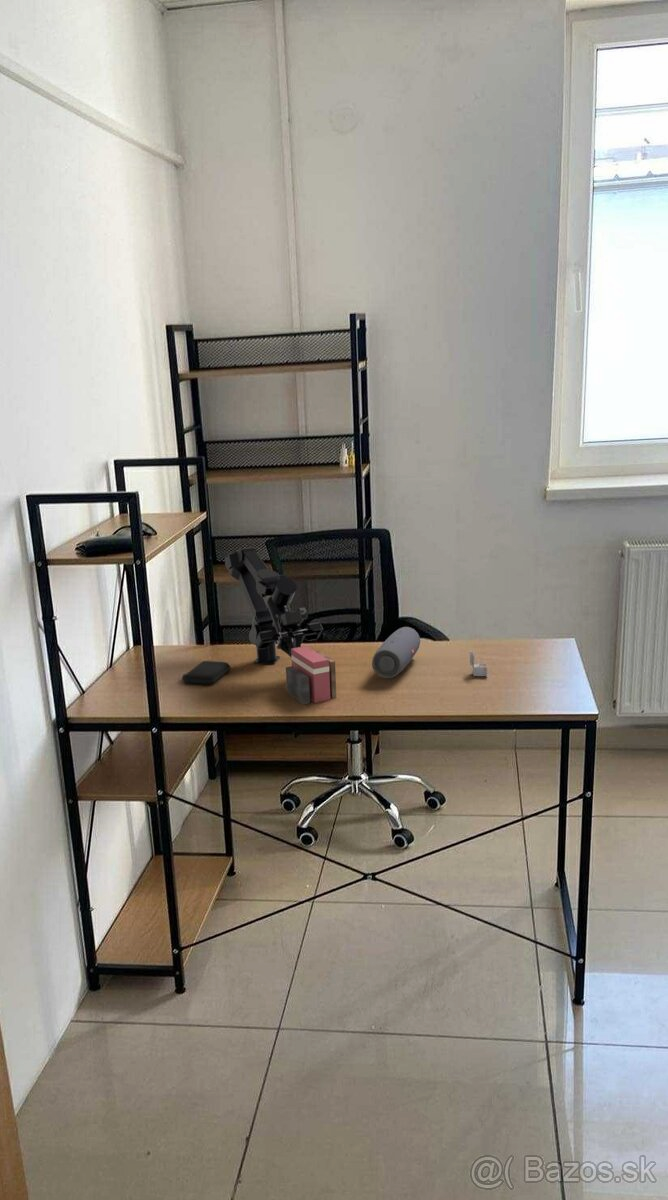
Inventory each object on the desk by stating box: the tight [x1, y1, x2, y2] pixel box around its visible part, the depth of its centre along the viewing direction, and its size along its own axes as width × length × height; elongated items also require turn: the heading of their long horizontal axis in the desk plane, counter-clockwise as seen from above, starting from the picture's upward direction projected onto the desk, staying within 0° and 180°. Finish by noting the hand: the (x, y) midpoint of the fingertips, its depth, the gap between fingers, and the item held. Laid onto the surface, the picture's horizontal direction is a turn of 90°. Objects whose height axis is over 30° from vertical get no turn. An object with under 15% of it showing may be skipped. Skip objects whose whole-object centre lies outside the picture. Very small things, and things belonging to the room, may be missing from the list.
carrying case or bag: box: [181, 660, 231, 686], centre depth 258 cm, size 11×3×15 cm
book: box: [290, 645, 331, 704], centre depth 241 cm, size 14×4×11 cm, turn 27°
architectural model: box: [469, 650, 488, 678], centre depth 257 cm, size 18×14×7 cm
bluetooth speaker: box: [371, 626, 421, 679], centre depth 257 cm, size 23×9×10 cm, turn 161°
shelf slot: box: [285, 650, 337, 705], centre depth 240 cm, size 10×10×10 cm
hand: (299, 662), depth 247 cm, fingers closed, pressing on book
